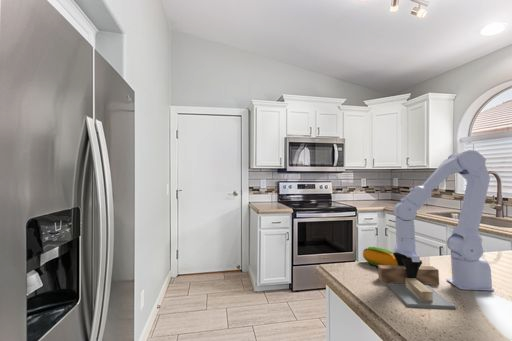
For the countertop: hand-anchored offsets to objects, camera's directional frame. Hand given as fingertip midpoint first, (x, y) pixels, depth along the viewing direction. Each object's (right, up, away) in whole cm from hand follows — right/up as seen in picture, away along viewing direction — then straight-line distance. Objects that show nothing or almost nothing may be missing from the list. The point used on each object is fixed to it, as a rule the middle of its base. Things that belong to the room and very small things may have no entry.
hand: (407, 277), depth 87 cm
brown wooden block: (0, -2, 0) cm, 2 cm away
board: (-4, -1, -12) cm, 12 cm away
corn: (0, -3, +14) cm, 15 cm away
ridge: (-4, -1, -12) cm, 12 cm away
